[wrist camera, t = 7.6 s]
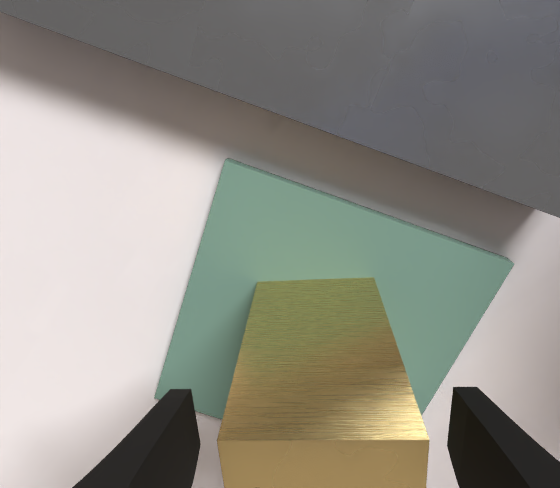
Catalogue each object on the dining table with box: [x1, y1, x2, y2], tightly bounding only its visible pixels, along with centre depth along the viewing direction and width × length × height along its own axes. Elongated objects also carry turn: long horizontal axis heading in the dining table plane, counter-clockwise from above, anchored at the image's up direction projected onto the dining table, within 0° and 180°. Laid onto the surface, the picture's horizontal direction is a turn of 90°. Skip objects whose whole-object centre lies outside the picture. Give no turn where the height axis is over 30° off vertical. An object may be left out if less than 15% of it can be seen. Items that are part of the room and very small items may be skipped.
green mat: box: [154, 158, 514, 419], centre depth 16 cm, size 10×10×1 cm
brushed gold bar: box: [217, 277, 429, 488], centre depth 12 cm, size 4×4×7 cm
